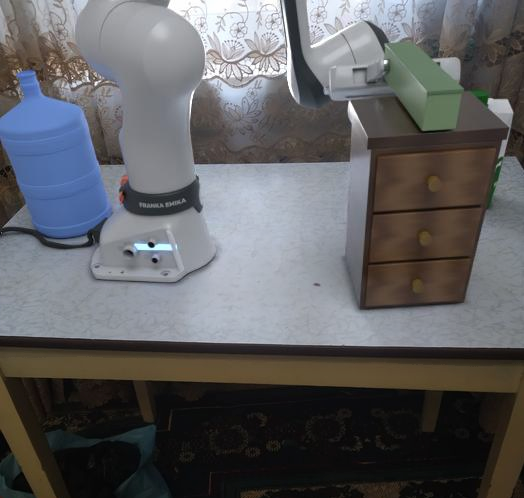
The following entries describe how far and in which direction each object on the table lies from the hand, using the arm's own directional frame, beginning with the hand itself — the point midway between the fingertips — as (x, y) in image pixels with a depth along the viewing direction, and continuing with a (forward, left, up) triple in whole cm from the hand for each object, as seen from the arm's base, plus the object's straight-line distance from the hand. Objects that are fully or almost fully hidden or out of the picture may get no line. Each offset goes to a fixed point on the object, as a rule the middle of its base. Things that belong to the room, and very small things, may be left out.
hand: (404, 63), depth 76 cm
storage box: (0, -8, -3) cm, 8 cm away
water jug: (-61, +16, -29) cm, 70 cm away
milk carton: (+19, +13, -29) cm, 37 cm away
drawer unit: (0, -12, -29) cm, 32 cm away
